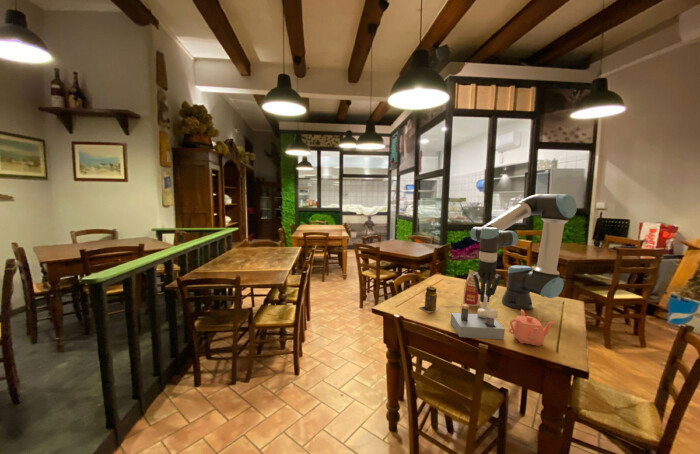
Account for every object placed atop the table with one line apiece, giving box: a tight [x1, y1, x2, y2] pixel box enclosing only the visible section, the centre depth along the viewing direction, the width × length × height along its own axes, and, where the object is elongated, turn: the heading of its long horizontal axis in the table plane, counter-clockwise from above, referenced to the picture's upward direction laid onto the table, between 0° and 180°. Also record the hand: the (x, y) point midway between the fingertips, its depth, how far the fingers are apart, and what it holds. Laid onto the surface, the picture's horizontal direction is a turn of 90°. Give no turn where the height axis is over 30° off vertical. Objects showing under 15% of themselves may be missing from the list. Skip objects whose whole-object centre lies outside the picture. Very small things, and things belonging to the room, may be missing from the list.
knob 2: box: [485, 307, 498, 327], centre depth 122 cm, size 5×5×8 cm
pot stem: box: [460, 303, 470, 321], centre depth 127 cm, size 3×3×7 cm
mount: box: [450, 312, 506, 341], centre depth 127 cm, size 19×14×5 cm
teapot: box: [508, 309, 557, 346], centre depth 119 cm, size 14×14×11 cm
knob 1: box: [476, 307, 487, 319], centre depth 130 cm, size 5×5×8 cm
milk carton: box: [462, 269, 481, 308], centre depth 159 cm, size 9×9×20 cm
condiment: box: [419, 286, 440, 314], centre depth 150 cm, size 7×8×12 cm
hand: (484, 308), depth 130 cm, fingers closed
